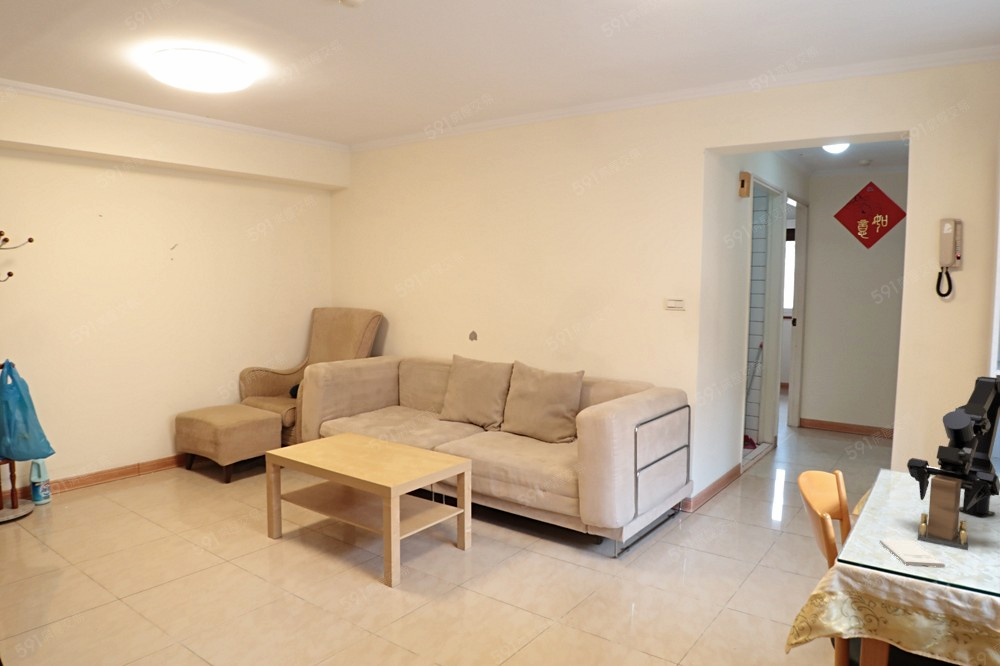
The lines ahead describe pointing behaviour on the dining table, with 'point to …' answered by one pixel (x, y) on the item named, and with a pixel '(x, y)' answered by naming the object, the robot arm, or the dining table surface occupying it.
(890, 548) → the external hard drive
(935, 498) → the walnut post
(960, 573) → the dining table surface
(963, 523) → the plate
